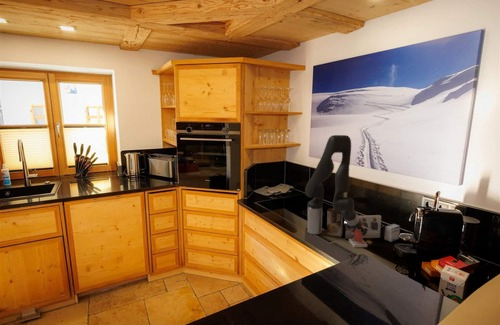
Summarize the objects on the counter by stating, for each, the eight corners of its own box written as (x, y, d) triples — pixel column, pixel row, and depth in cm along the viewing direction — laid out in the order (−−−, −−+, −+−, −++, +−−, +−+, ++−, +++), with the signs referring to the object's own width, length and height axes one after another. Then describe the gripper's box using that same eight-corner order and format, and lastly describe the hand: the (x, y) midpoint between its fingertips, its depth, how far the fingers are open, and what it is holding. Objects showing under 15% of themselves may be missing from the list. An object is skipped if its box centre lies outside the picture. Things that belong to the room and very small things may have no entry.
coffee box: (342, 232, 172) (343, 209, 169) (341, 236, 166) (342, 212, 164) (327, 230, 176) (328, 207, 173) (326, 234, 170) (327, 210, 168)
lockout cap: (352, 238, 158) (352, 222, 157) (360, 238, 158) (361, 222, 157) (355, 242, 153) (356, 226, 152) (364, 242, 153) (365, 225, 152)
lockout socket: (348, 241, 160) (349, 238, 160) (361, 240, 160) (361, 238, 160) (354, 247, 153) (354, 244, 152) (367, 247, 153) (367, 244, 152)
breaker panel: (345, 237, 166) (346, 216, 163) (378, 236, 166) (379, 215, 164) (347, 240, 162) (348, 218, 159) (381, 239, 162) (383, 217, 160)
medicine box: (390, 242, 158) (391, 228, 156) (384, 239, 162) (385, 226, 160) (399, 239, 161) (400, 225, 160) (392, 236, 165) (393, 223, 164)
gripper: (367, 216, 143) (374, 230, 153) (341, 210, 153) (350, 224, 163) (363, 228, 140) (370, 242, 150) (337, 221, 150) (346, 235, 160)
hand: (359, 232), depth 157 cm, fingers closed on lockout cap, 4 cm apart
